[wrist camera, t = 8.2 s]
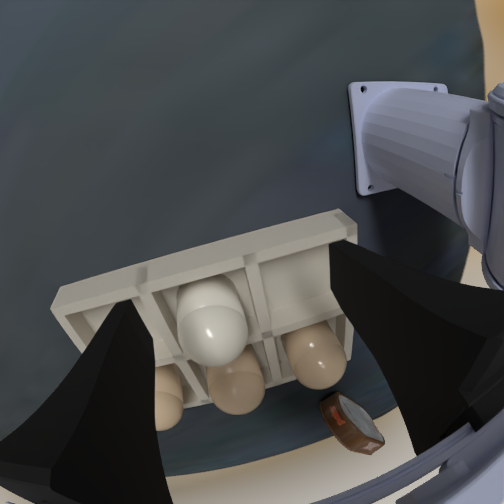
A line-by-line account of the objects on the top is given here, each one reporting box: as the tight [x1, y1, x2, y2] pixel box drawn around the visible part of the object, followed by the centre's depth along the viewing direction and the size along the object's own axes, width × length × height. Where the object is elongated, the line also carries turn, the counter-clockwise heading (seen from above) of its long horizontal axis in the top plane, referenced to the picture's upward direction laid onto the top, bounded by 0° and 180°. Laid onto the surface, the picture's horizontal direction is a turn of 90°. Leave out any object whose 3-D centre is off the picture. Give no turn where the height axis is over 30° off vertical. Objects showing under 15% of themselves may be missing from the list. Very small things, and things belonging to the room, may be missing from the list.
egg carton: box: [50, 209, 357, 408], centre depth 22 cm, size 21×14×3 cm
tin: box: [319, 392, 385, 455], centre depth 33 cm, size 15×3×8 cm, turn 38°
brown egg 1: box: [155, 363, 184, 431], centre depth 22 cm, size 4×4×6 cm
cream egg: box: [176, 274, 248, 367], centre depth 19 cm, size 4×4×6 cm
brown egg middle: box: [205, 344, 265, 415], centre depth 22 cm, size 4×4×6 cm
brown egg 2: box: [280, 320, 347, 389], centre depth 23 cm, size 4×4×6 cm
